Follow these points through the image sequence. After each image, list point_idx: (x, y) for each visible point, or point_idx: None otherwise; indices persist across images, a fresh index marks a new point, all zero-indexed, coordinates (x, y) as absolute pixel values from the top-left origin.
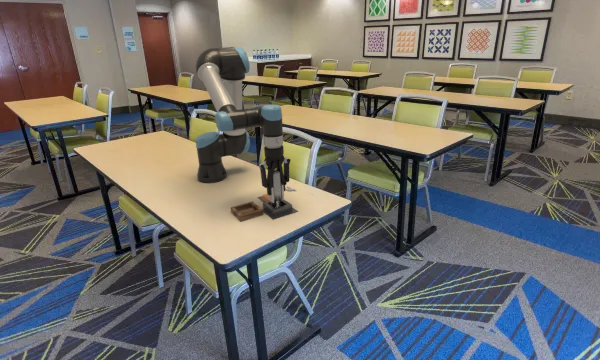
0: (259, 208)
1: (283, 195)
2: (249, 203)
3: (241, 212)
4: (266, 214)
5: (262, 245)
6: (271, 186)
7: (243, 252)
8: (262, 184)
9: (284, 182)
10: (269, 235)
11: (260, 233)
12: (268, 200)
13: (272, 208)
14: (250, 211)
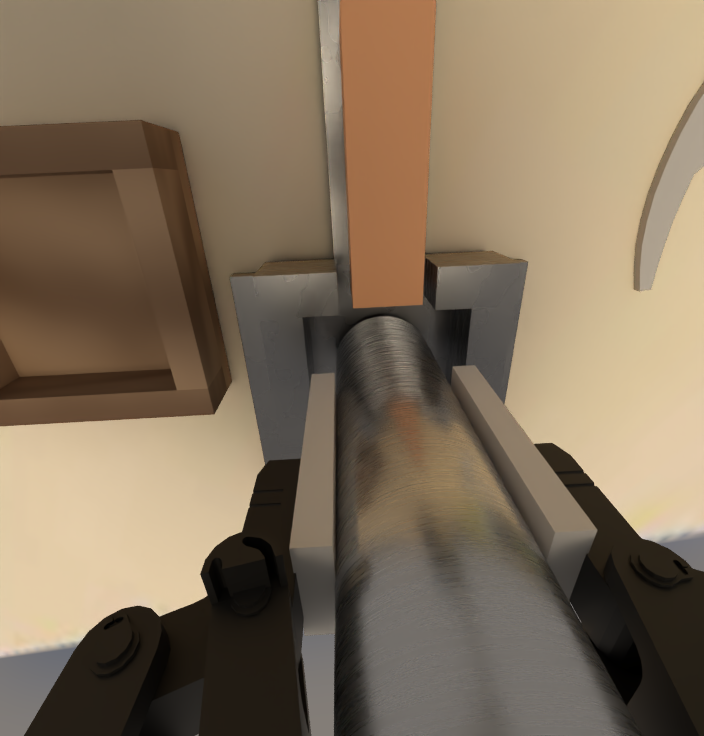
0: (184, 369)
1: None
2: (85, 169)
3: (9, 237)
4: (252, 395)
5: None
6: (302, 676)
7: (32, 639)
8: (69, 701)
9: (630, 668)
10: (193, 585)
11: (147, 554)
12: (350, 237)
13: (299, 446)
14: (114, 270)
